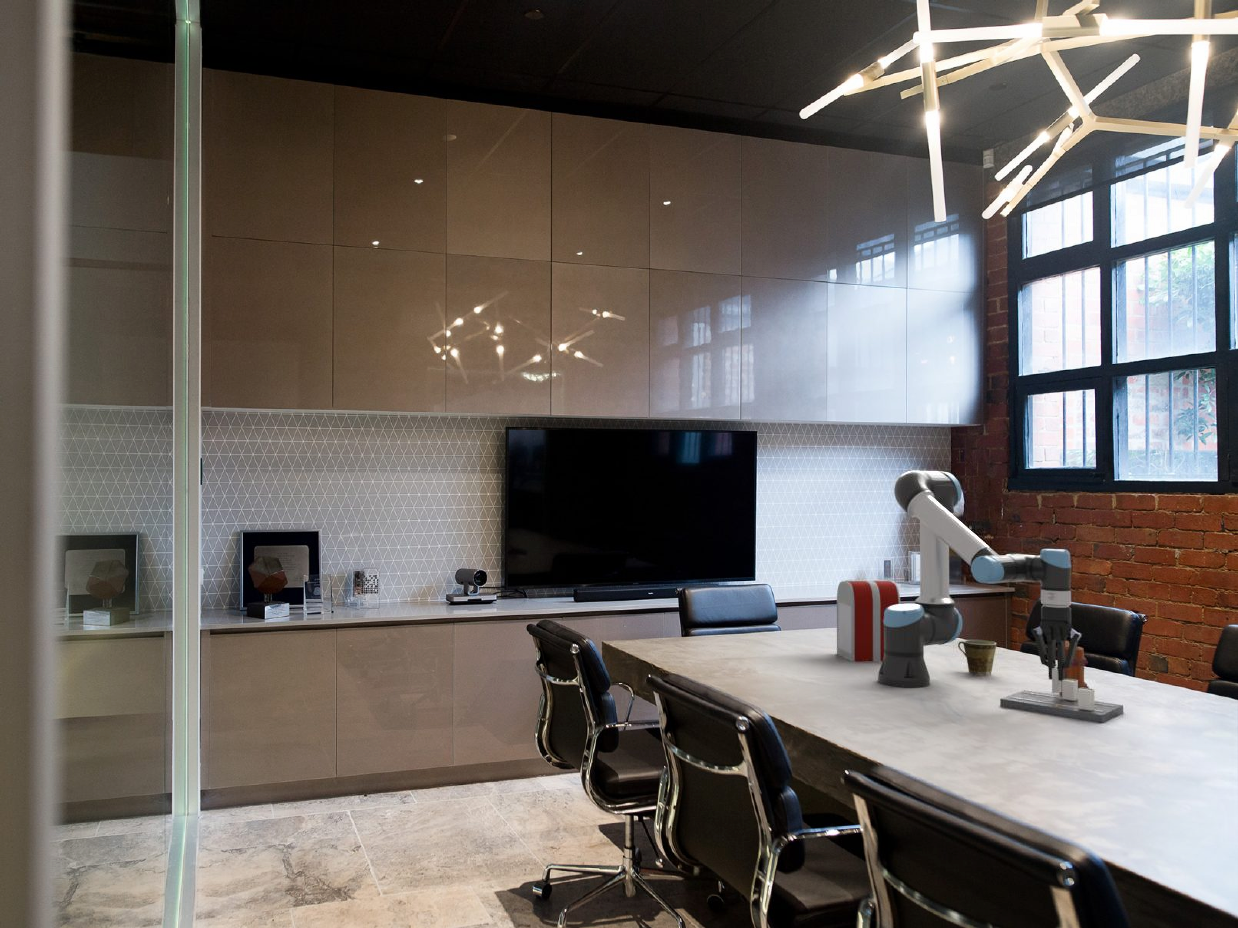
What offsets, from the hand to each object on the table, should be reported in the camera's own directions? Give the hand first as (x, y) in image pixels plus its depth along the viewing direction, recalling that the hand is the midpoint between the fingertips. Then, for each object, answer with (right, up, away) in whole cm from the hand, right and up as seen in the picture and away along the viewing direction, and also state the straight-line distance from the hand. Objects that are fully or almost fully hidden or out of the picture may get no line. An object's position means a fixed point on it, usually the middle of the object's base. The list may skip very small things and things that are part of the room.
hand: (1056, 691), depth 260 cm
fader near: (+1, -1, -14) cm, 14 cm away
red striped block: (-32, -6, +74) cm, 81 cm away
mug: (+9, -4, +12) cm, 16 cm away
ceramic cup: (-5, -5, +46) cm, 47 cm away
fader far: (+2, -1, -2) cm, 4 cm away
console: (-1, -3, -5) cm, 6 cm away
